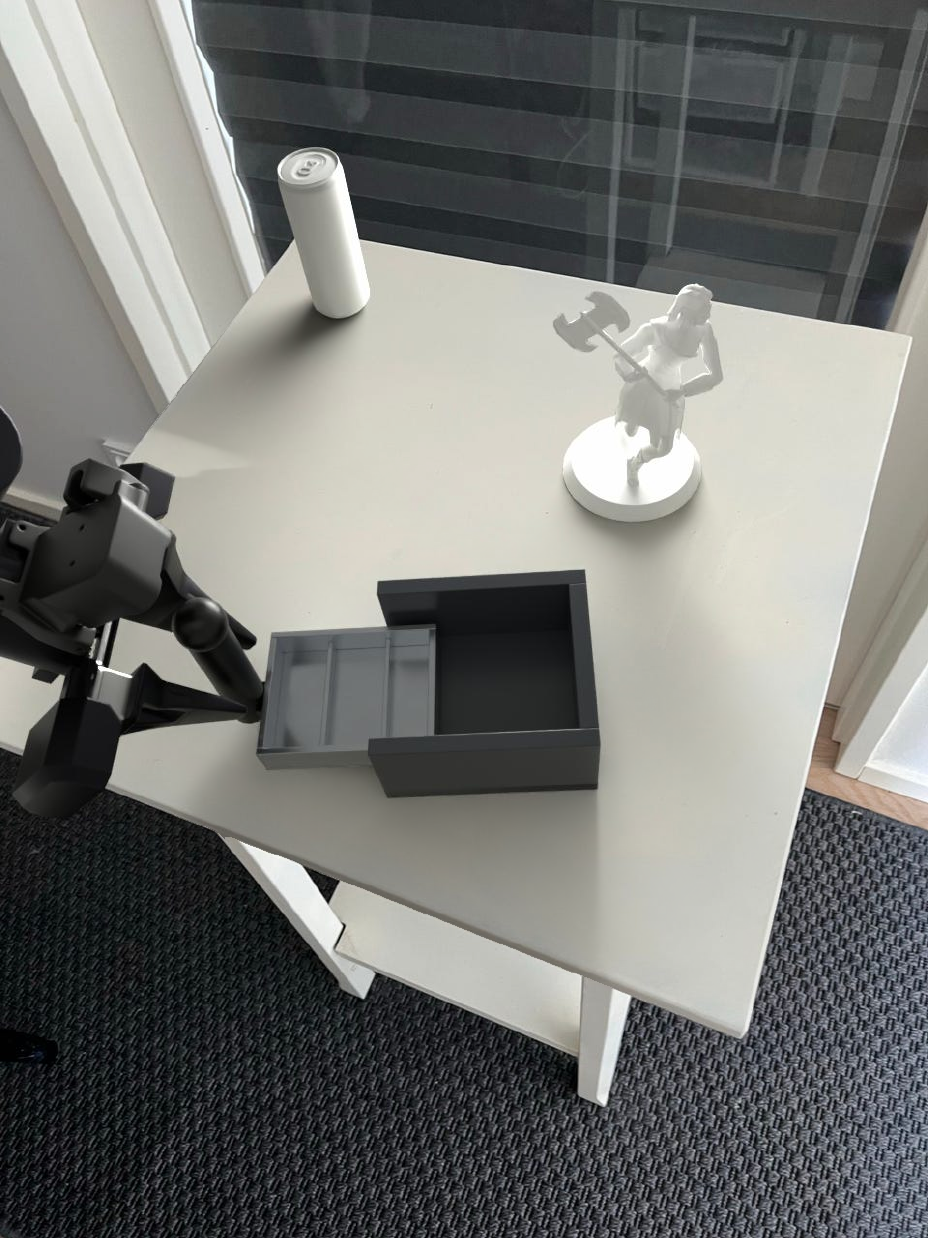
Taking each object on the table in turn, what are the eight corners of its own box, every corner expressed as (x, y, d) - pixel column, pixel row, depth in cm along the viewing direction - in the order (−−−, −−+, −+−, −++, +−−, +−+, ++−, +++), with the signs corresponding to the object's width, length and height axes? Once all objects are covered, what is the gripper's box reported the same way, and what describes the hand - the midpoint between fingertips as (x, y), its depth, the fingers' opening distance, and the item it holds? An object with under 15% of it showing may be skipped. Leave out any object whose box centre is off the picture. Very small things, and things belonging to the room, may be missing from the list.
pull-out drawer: (222, 772, 54) (149, 681, 44) (239, 652, 58) (176, 547, 49) (438, 763, 53) (410, 668, 43) (440, 642, 57) (415, 532, 48)
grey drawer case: (386, 798, 53) (367, 755, 48) (393, 634, 59) (377, 580, 54) (597, 790, 52) (600, 745, 47) (583, 623, 58) (585, 568, 53)
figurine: (556, 522, 62) (551, 303, 47) (558, 418, 67) (555, 190, 52) (706, 521, 61) (750, 297, 46) (697, 416, 66) (735, 182, 51)
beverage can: (381, 289, 77) (353, 151, 67) (354, 327, 75) (320, 190, 65) (331, 278, 79) (296, 141, 68) (303, 314, 76) (262, 178, 66)
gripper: (-61, 691, 34) (309, 792, 42) (58, 340, 44) (338, 478, 52) (-128, 783, 41) (200, 854, 49) (-13, 464, 51) (243, 568, 59)
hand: (248, 678), depth 52 cm, fingers open, 4 cm apart
